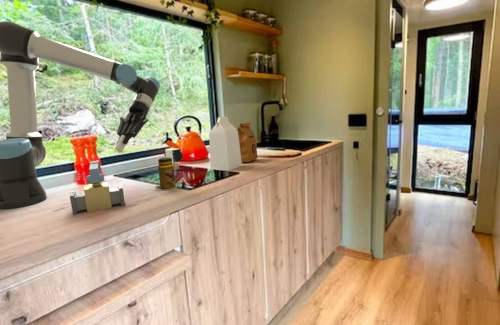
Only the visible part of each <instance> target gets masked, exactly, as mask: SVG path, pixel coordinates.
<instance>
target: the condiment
mask: <svg viewBox="0 0 500 325" xmlns="http://www.w3.org/2000/svg"><path fill="white" fill-rule="evenodd" d="M172 163H173V162H172V158H166V157H161V158H158V166H157V169H158V172H157V173H158V178H159V179H158V180H159V185H155V188H154V192H156V191H164V190H165V191H167V190H175V189H176V190H177V189H178V188H177V187H178V186H177V184H178V183H176V176H175V170H174V165H173V164H172Z"/></svg>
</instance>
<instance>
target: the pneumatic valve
mask: <svg viewBox="0 0 500 325" xmlns="http://www.w3.org/2000/svg"><path fill="white" fill-rule="evenodd" d="M163 155H164V158H172V164H173V165H174V171H176V170H179V169H180V166H179V162H182V161H183V158H184V156H183V152H182V149H181V148H175V147H174V146H172V147H171V148H170V147H169V148H165V149H164V153H163Z"/></svg>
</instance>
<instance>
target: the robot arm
mask: <svg viewBox="0 0 500 325" xmlns="http://www.w3.org/2000/svg"><path fill="white" fill-rule="evenodd" d="M40 59H41V60H45V61H48V62H51V63H54V64H57V65H61V66H64V67H67V68H70V69H74V70H77V71H79V72H83V73H85V74H90V75H93V76H96V77H99V78H103V79H106V80H110V81H113V82H114V83H116V84H117V85H120V86H122V87H124V88H125V89H127V90H129V91H131V92H133V93H135V96H134V98H133V100H132V102H131V103H130V105H129V108H128V113H127V114H126V116H124V117H123V116H121V117H119V120H120V122H119V125H118V128H117V133H116V134H117V136H118V137H119V138H118V140H117V143H116V145H115V146H114V149H115V150H116V151H117V152H118V153H123V152H124V149H125V147H126V145H128V143H129V141H130V140H131V139H132V138H136V137H137V135H138V134H139V133H140V131H141V129H143V128H144V126H145V124H147V123H148V122H149V119H148V118H147V115H148V114H149V111H150V110H151V108H152V105H153V103H154V100H156V97H157V95H158V94H159V91H160V87H161V85H160V84H161V83H160V82H159V81H158V79H157V78H155V77H151V76H146V77H142V76H140V75H138V73H137V70H136V69H135V67H134V66H133V65H131V64H128V63H123V62H122V63H121V62H118V61H115V60H113V59H110V58H107V57H103V56H101V55H98V54H95V53H93V52H89V51H86V50H83V49H80V48H77V47H74V46H71V45H68V44H64V43H62V42H59V41H56V40H53V39H50V38H47V37H44V36H41V35H40V34H39V33H38V31H36V30H33V29H29V28H27V27H25V26H22V25H20V24H18V23H16V22H12V21H0V63H1V64H2V65H3V66H4V67H5V68H6V75H7V77H6V78H7V91H8V92H7V93H8V105H9V106H8V108H9V112H8V113H9V124H10V131H9V132H8V133H7V134H5V139H0V209H1V210H2V209H14V208H22V207H26V206H30V205H33V204H37V203H40V202H43V201H44V200H46V199H47V192H46V191H45V189H44V188H43V185H42V184H41V182H40V181H39V178H38V176H37V169H36V167H38V166H39V165H41V164H42V163H43V161H44V160H45V158H46V154H47V150H46V148H45V146H44V144H43V135H42V134H41V133H40V132H39V131H38V118H37V117H38V115H37V112H38V111H37V93H36V77H35V76H36V75H35V72H36V71H37V70H38V69H39V68H40V62H39V61H40Z"/></svg>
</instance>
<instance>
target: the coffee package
mask: <svg viewBox="0 0 500 325" xmlns="http://www.w3.org/2000/svg"><path fill="white" fill-rule="evenodd" d="M251 125H252V123H251V121H247V122H244V123H243V122H240V123H239V125H238V127H237V128H236V129H237V131H238V136H239V144H240V153H241V161H242V164H243V163H250V162H253V161H257V159H258V149H257V147H258V146H257V145H258V144H257V143H258V142H257V139H256V138H257V137H256V135H255V134H254V132H253V131H252V129H251Z"/></svg>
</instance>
